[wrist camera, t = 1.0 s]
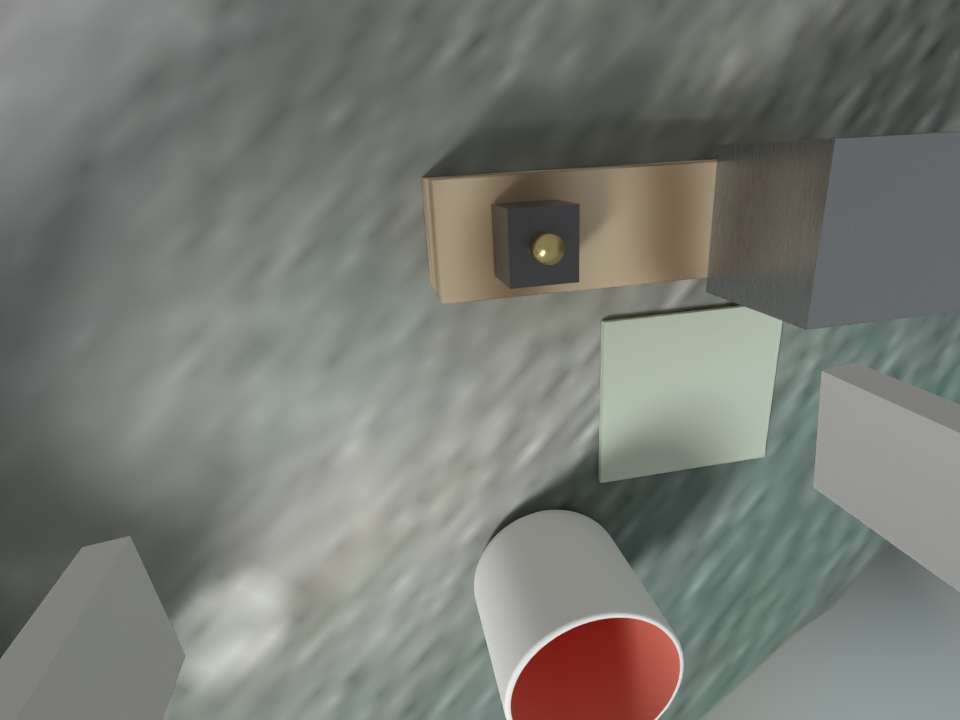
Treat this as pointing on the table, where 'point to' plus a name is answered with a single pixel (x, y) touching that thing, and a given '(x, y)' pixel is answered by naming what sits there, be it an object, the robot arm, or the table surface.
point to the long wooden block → (603, 225)
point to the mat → (685, 390)
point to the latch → (536, 243)
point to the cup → (572, 624)
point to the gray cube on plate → (838, 228)
